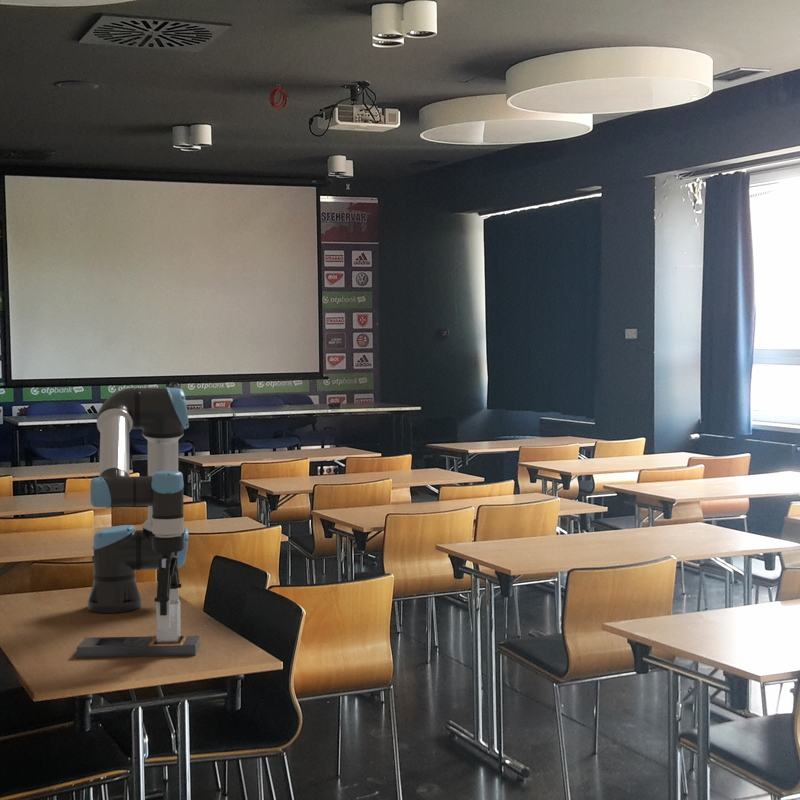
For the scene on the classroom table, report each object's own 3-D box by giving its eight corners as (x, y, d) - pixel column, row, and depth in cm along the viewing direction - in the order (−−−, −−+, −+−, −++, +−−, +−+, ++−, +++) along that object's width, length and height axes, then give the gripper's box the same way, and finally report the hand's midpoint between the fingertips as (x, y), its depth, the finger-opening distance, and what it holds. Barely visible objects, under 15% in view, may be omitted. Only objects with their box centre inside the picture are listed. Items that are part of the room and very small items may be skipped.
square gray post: (160, 648, 255) (159, 600, 254) (180, 648, 255) (180, 599, 255) (156, 653, 250) (156, 604, 249) (177, 653, 250) (177, 604, 250)
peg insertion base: (85, 647, 255) (85, 636, 255) (200, 645, 257) (200, 634, 257) (76, 657, 246) (76, 646, 246) (195, 655, 248) (195, 644, 248)
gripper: (160, 527, 264) (161, 609, 264) (143, 543, 239) (143, 634, 239) (190, 526, 264) (191, 609, 265) (176, 543, 239) (176, 634, 240)
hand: (168, 621), depth 252 cm, fingers open, 13 cm apart
